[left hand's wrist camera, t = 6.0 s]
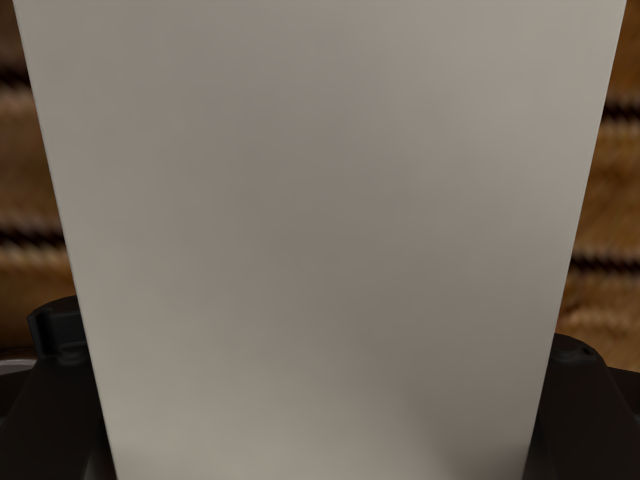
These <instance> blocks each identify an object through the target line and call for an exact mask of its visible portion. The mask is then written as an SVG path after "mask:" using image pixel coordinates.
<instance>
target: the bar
mask: <svg viewBox="0 0 640 480" xmlns="http://www.w3.org/2000/svg"><path fill="white" fill-rule="evenodd" d="M626 1H627V0H13V4H14V9H15V13H16V18H17V22H18V27H19V31H20V36H21V41H22V45H23V50H24V54H25V59H26V64H27V68H28V73H29V77H30V82H31V87H32V91H33V96H34V100H35V105H36V110H37V114H38V119H39V123H40V128H41V132H42V137H43V142H44V146H45V151H46V155H47V160H48V165H49V169H50V174H51V178H52V183H53V188H54V192H55V197H56V201H57V206H58V211H59V215H60V220H61V224H62V229H63V233H64V238H65V243H66V247H67V252H68V256H69V261H70V266H71V270H72V275H73V279H74V284H75V289H76V293H77V298H78V302H79V307H80V312H81V316H82V321H83V325H84V330H85V334H86V339H87V344H88V348H89V353H90V357H91V362H92V367H93V371H94V376H95V380H96V385H97V390H98V394H99V399H100V403H101V408H102V413H103V417H104V422H105V426H106V431H107V435H108V440H109V445H110V449H111V454H112V458H113V463H114V468H115V472H116V477H117V480H522V479H523V474H524V470H525V465H526V460H527V456H528V451H529V447H530V442H531V437H532V433H533V428H534V424H535V419H536V414H537V410H538V405H539V401H540V396H541V391H542V387H543V382H544V378H545V373H546V368H547V364H548V359H549V355H550V350H551V345H552V341H553V336H554V332H555V327H556V322H557V318H558V313H559V309H560V304H561V300H562V295H563V290H564V286H565V281H566V277H567V272H568V267H569V263H570V258H571V254H572V249H573V244H574V240H575V235H576V231H577V226H578V221H579V217H580V212H581V208H582V203H583V198H584V194H585V189H586V185H587V180H588V175H589V171H590V166H591V162H592V157H593V152H594V148H595V143H596V139H597V134H598V129H599V125H600V120H601V116H602V111H603V106H604V102H605V97H606V93H607V88H608V83H609V79H610V74H611V70H612V65H613V61H614V56H615V51H616V47H617V42H618V38H619V33H620V28H621V24H622V19H623V15H624V10H625V5H626Z"/></svg>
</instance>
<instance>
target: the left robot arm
mask: <svg viewBox="0 0 640 480" xmlns="http://www.w3.org/2000/svg"><path fill="white" fill-rule="evenodd" d="M27 320H28V324H29V328H30V331H31V335H32V339H33V343H34V346H35V347H28V348H15V349H8V350H4V351H0V480H117V477H116V472H115V468H114V463H113V458H112V454H111V449H110V445H109V440H108V435H107V431H106V426H105V422H104V417H103V413H102V408H101V403H100V399H99V394H98V390H97V385H96V380H95V376H94V371H93V367H92V362H91V357H90V353H89V348H88V344H87V339H86V334H85V330H84V325H83V321H82V316H81V312H80V307H79V302H78V298H77V295H75V296H70V297H64V298H61V299H58V300H55V301H52V302H49V303H46V304H45V305H43V306H41V307H39V308H37V309H35V310H34V311H33V312H32V313H31V314H30V315H29V316H28V317H27ZM522 480H640V373H638V372H633V371H627V370H622V369H616V368H612V367H608V366H607V365H606V364H605V362H604V360H603V358H602V357H601V356H600V355H599V353H598V352H597V351H596V350H595V349H594V348H592V347H590V346H589V345H587V344H586V343H584V342H582V341H580V340H577V339H575V338H572V337H570V336H567V335H562V334H557V333H554V336H553V341H552V345H551V350H550V355H549V359H548V364H547V368H546V373H545V378H544V382H543V387H542V391H541V396H540V401H539V405H538V410H537V414H536V419H535V424H534V428H533V433H532V437H531V442H530V447H529V451H528V456H527V460H526V465H525V470H524V474H523V479H522Z"/></svg>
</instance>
